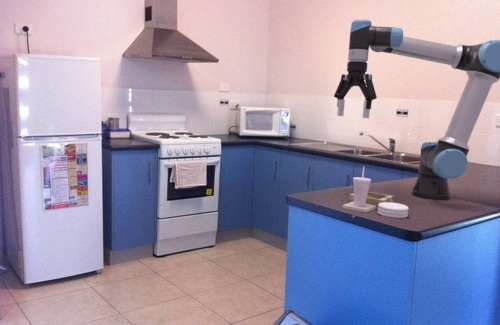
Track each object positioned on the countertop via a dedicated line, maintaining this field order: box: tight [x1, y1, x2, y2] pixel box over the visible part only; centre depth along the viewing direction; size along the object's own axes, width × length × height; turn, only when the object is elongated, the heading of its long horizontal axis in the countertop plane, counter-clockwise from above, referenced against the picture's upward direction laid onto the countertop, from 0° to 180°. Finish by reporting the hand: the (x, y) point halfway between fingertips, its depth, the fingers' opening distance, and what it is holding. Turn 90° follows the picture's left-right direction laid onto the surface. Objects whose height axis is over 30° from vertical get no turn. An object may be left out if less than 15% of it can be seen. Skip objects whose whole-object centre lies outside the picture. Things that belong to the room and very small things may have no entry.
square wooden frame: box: [348, 191, 395, 209], centre depth 174 cm, size 13×13×3 cm
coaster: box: [377, 202, 410, 219], centre depth 157 cm, size 10×10×4 cm
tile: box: [342, 202, 377, 213], centre depth 163 cm, size 9×9×1 cm
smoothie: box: [352, 166, 372, 207], centre depth 162 cm, size 6×6×14 cm
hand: (352, 117), depth 180 cm, fingers open, 13 cm apart
